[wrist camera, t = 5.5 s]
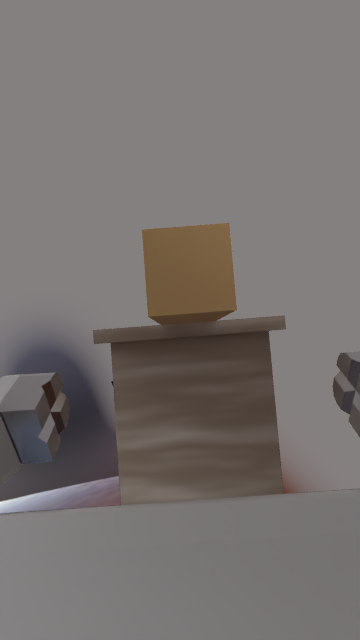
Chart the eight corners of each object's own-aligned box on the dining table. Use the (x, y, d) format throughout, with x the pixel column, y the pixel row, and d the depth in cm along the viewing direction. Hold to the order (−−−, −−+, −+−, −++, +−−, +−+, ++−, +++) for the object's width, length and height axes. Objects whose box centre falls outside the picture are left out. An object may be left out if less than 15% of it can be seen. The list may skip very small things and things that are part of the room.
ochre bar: (236, 309, 15) (229, 223, 15) (148, 316, 15) (142, 229, 15) (204, 326, 37) (201, 291, 37) (169, 329, 37) (166, 294, 37)
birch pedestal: (320, 694, 22) (284, 315, 24) (116, 709, 22) (93, 330, 24) (262, 545, 38) (243, 324, 40) (144, 553, 38) (129, 333, 40)
